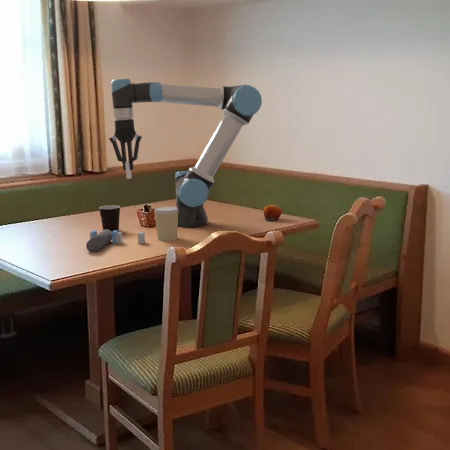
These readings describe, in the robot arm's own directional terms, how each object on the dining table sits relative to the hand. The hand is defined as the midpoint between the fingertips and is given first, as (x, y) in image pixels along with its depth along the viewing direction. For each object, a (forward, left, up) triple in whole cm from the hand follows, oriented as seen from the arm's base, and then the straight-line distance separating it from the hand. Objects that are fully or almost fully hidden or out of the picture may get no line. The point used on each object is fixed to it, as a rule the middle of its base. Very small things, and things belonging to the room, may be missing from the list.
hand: (129, 178), depth 267 cm
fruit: (-56, -29, -23) cm, 67 cm away
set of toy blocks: (+1, +16, -23) cm, 28 cm away
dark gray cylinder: (+6, +22, -23) cm, 32 cm away
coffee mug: (+10, -7, -23) cm, 26 cm away
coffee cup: (-17, +8, -23) cm, 30 cm away
